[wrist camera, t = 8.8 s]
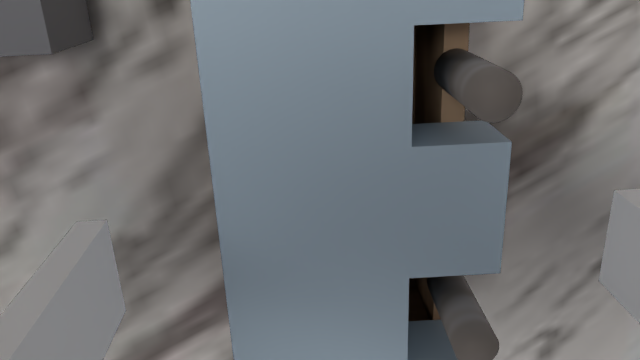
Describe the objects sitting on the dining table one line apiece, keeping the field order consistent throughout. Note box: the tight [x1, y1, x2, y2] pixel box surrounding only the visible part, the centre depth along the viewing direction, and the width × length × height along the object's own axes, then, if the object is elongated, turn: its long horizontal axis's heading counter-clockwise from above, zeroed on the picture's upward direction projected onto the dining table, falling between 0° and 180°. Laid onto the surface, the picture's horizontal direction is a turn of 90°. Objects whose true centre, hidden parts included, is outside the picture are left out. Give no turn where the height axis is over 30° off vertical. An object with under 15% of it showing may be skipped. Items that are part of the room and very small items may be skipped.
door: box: [190, 0, 524, 360], centre depth 18 cm, size 14×9×2 cm, turn 2°
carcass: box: [408, 23, 522, 360], centre depth 20 cm, size 14×8×9 cm, turn 2°
